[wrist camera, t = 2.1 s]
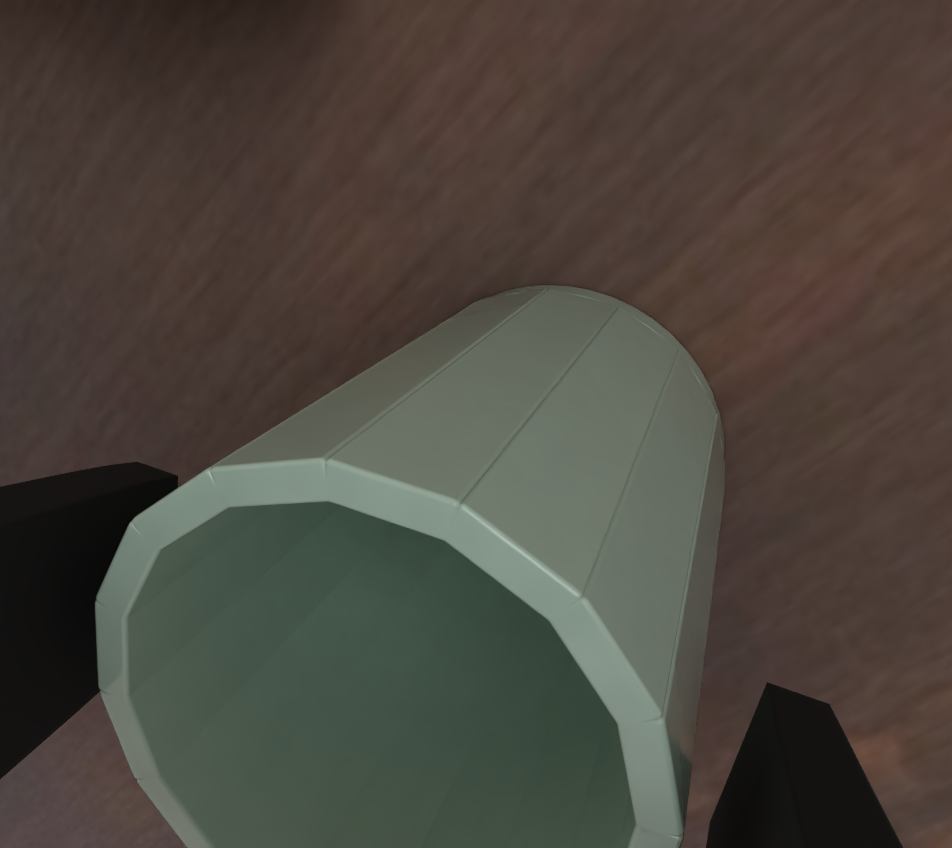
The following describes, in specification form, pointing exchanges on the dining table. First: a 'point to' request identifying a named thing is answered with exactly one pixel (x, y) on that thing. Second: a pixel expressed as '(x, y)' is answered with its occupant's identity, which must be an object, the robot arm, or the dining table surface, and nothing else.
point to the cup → (436, 598)
